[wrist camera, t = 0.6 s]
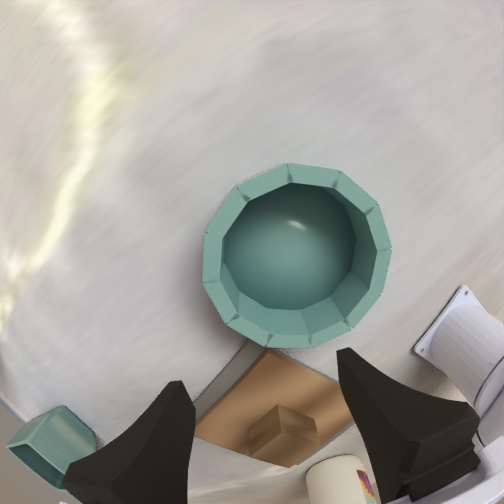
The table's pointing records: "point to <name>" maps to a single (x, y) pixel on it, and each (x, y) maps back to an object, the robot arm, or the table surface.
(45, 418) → the flower pot
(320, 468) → the milk bottle
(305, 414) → the lid
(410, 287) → the table surface
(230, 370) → the mat
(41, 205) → the table surface
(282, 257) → the bowl
